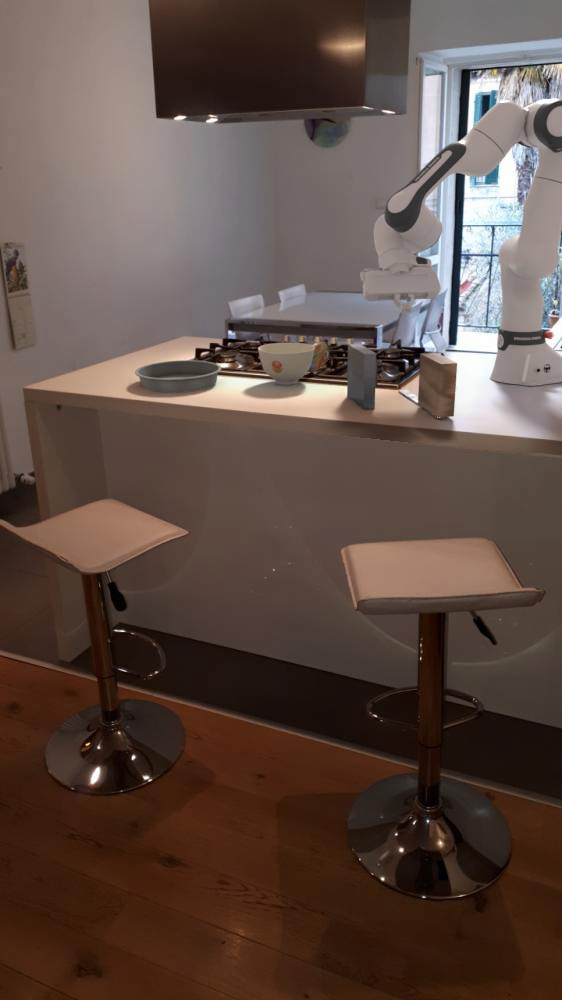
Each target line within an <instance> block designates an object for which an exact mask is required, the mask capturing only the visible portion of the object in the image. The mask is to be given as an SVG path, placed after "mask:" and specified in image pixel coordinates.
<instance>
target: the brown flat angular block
mask: <svg viewBox="0 0 562 1000" xmlns="http://www.w3.org/2000/svg"><path fill="white" fill-rule="evenodd" d="M419 354H420V355H419V375H418V377H419V378H418V396H417V397H418V404H419V405H420V406H422V407H423V408H425V409H426V410H428V411H429V412H431V413H432V414H434V415H435V416H436V417H435V416H434V415H433V416H434V417H435V418H437V417H438V418H437V419H440V418H439V417H445V418H448V417H449V418H451V417H454V416H455V405H456V404H455V402H456V386H457V373H458V362H456V361H454V360H452V359H450V358H447V357H445V356H444V355H441V354H440V353H438V352H424V353H423V352H422V353H419ZM419 405H418V406H419ZM420 406H419V407H420ZM422 407H421V408H422ZM423 408H422V409H423ZM425 409H424V410H425ZM426 410H425V411H426ZM428 411H427V412H428ZM429 412H428V413H429ZM431 413H430V414H431ZM432 414H431V415H432Z"/></svg>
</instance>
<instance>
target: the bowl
mask: <svg viewBox="0 0 562 1000" xmlns="http://www.w3.org/2000/svg"><path fill="white" fill-rule="evenodd" d="M312 345H313V344H308V343H302V342H275V343H267V344H263V345H260V346H259V347H258V348H257V351H258V354H259V359H260V362H261V366H262V369H263V370H264V372H265V373H266V374H267V375H268V376H269V377H270V378H272V379H273V380H274V381H275V384H277V385H281V386H292V385H296V384H298V383H299V380H300V379H302V378H303V377H304V376H305V375H307V374H308V373H307V372H308V370H309V369H310V366H311V363H312V359H313V354H314V350H315V347H314V346H312Z"/></svg>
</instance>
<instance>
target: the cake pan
mask: <svg viewBox="0 0 562 1000" xmlns="http://www.w3.org/2000/svg"><path fill="white" fill-rule="evenodd" d="M221 371H222V367H221V365H219V364H218V363H215V362H211V361H205V360H193V359H191V360H186V359H184V360H169V361H167V360H166V361H158V362H155V363H149V364H146V365H143V366H141V367H138V368H136V369H135V371H134V374H135V376H137V377H138V378H139V380H140V382H141V386H142V388H144V389H145V390H149V391H152V392H158V393H187V392H195V391H202V390H205V389H208V388H212V387H213V386H215V385H216V384H217V381H218V374H219V373H220V372H221Z"/></svg>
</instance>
